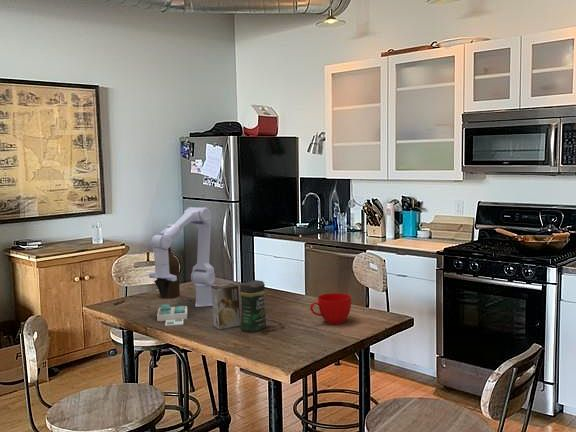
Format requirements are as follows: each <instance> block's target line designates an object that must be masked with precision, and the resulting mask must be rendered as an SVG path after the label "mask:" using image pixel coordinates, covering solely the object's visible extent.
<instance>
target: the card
mask: <svg viewBox="0 0 576 432" xmlns="http://www.w3.org/2000/svg"><path fill="white" fill-rule="evenodd" d="M181 325H183V326H184V319H175V320H166V321H165V325H164V326H165V327H169V326H181Z"/></svg>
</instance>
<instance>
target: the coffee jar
mask: <svg viewBox="0 0 576 432" xmlns="http://www.w3.org/2000/svg"><path fill="white" fill-rule="evenodd" d="M239 292H240V294H239V295H240V298H241V315H240V324H241V325H240V328H241V330H243V331H244V332H248V333H250V332H253V333H254V332H258V331H261V330H263V329H265V328H266V327H267V318H266V317H267V316H266V310H265V309H266V308H265V293H266V286H265V283H264V281H263V280H257V279H254V280H250V281H247V282H244V283H241V285H240V288H239Z"/></svg>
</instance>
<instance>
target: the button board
mask: <svg viewBox="0 0 576 432" xmlns="http://www.w3.org/2000/svg"><path fill="white" fill-rule="evenodd" d="M183 306H184V313H177V314H175V307H176V306H170V310H168V311H169V312H170V314H164V315H160V312H161V307H158V310H157V315H156V316H157V317H156V319H157V322H166V320H175V319H183V320H188V306H187V305H183Z"/></svg>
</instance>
